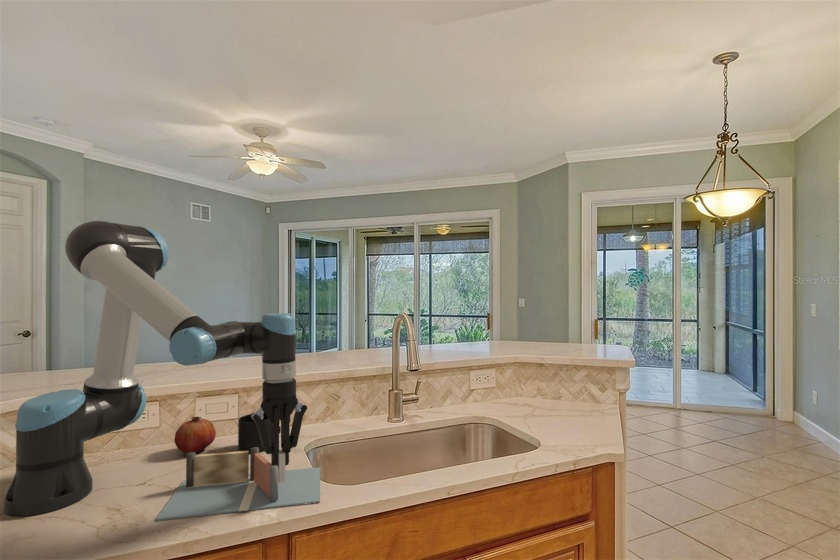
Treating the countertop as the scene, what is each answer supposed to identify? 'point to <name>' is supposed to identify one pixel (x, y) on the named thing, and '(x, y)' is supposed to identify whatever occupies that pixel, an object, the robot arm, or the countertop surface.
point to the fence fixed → (219, 467)
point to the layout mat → (242, 496)
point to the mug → (251, 433)
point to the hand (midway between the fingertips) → (280, 480)
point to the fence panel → (266, 476)
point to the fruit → (195, 435)
